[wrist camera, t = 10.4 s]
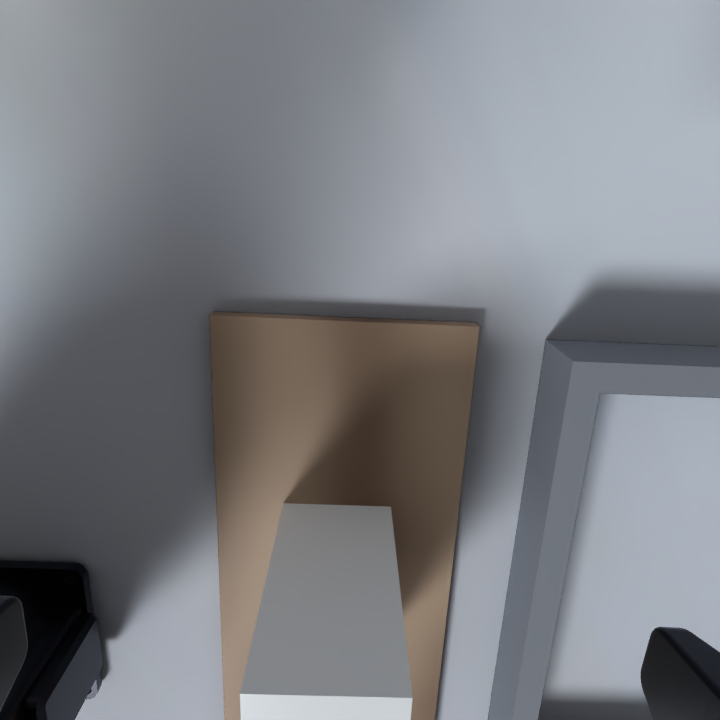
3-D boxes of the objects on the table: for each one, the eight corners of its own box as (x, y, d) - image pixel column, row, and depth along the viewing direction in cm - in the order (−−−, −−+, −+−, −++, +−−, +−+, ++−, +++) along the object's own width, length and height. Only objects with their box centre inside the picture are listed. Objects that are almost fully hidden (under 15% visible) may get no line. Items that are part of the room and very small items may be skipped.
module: (281, 633, 22) (243, 868, 14) (281, 503, 20) (237, 694, 13) (383, 635, 22) (398, 871, 15) (392, 506, 20) (414, 697, 13)
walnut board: (229, 745, 25) (226, 759, 24) (213, 311, 19) (209, 315, 18) (427, 750, 25) (429, 763, 24) (476, 322, 19) (479, 327, 18)
